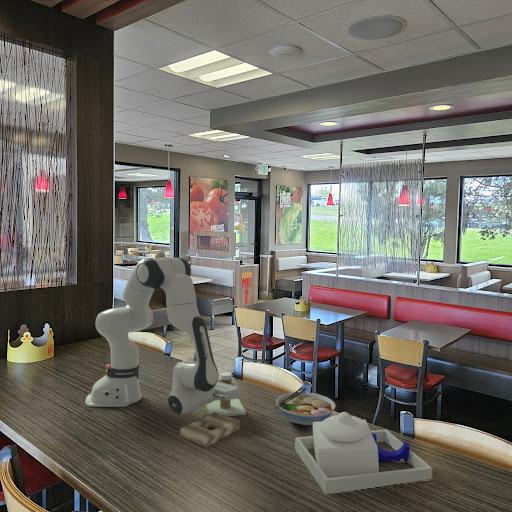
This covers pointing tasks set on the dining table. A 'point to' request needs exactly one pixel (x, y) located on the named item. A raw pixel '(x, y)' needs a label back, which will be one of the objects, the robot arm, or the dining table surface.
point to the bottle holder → (206, 437)
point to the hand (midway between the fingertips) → (227, 382)
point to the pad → (233, 410)
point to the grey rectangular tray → (364, 480)
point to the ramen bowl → (305, 407)
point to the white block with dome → (345, 446)
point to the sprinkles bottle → (225, 379)
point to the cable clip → (393, 452)
